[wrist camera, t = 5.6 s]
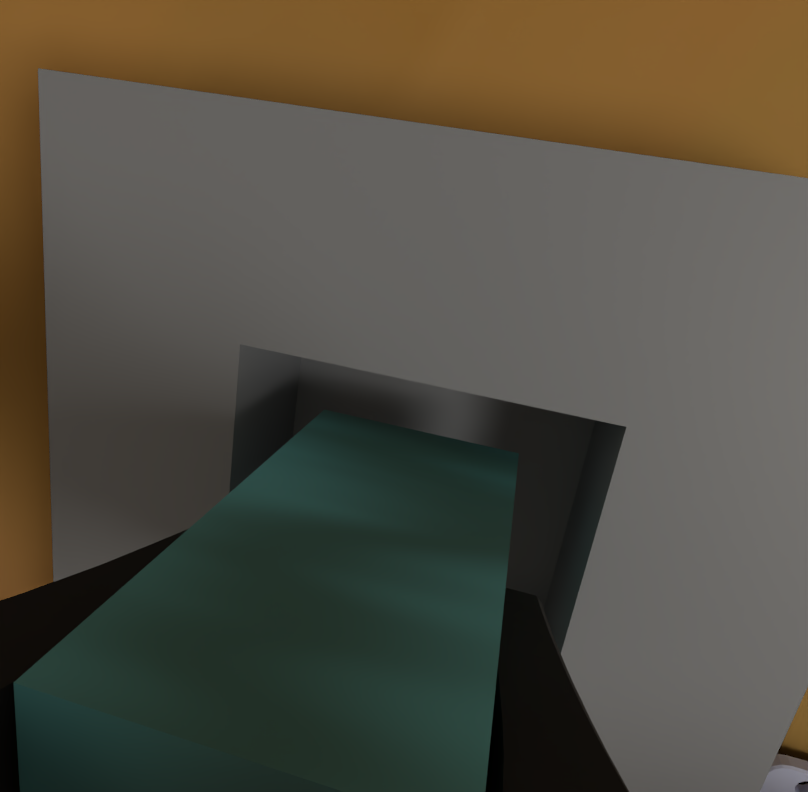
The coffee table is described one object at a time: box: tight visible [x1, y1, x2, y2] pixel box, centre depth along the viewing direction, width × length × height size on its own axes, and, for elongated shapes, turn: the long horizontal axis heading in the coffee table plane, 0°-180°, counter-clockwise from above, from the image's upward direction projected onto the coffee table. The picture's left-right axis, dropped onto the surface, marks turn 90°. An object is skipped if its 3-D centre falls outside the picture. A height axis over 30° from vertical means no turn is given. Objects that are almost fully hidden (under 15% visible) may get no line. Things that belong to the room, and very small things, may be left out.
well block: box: [38, 68, 808, 792], centre depth 13 cm, size 14×14×4 cm
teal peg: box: [13, 409, 519, 792], centre depth 8 cm, size 4×4×7 cm
